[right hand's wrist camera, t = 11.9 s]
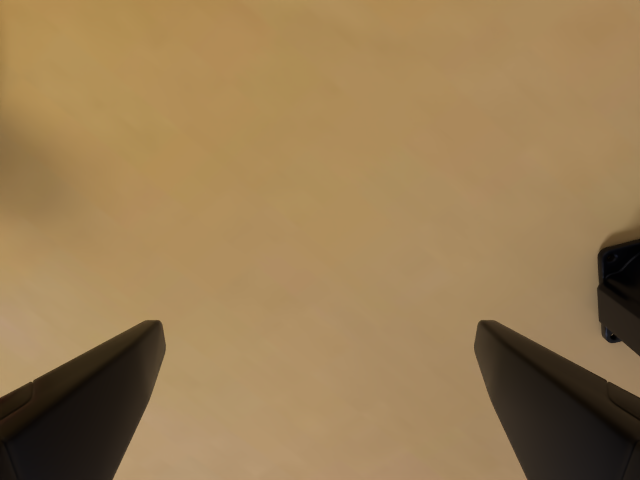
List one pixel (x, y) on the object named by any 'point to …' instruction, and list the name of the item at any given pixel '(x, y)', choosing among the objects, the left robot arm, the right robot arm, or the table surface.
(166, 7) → the table surface
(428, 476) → the table surface
